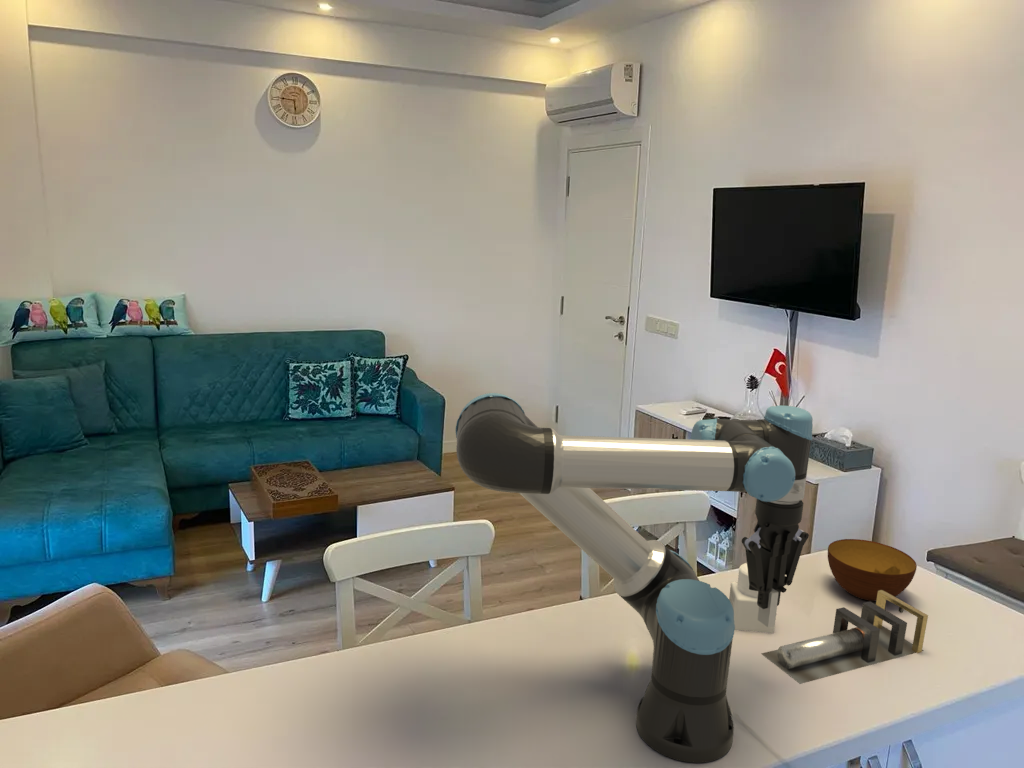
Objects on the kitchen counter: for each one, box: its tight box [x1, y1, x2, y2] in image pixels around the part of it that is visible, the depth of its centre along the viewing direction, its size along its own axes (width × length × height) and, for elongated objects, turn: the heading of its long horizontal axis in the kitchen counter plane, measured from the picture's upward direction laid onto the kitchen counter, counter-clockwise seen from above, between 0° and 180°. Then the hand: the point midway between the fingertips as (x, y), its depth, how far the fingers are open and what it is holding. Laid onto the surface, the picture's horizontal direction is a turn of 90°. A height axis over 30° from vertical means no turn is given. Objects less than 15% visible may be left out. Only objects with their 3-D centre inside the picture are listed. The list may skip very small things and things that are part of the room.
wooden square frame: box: [873, 590, 929, 654], centre depth 146 cm, size 1×10×8 cm, turn 23°
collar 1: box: [832, 607, 880, 663], centre depth 142 cm, size 2×8×6 cm, turn 23°
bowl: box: [827, 538, 918, 602], centre depth 164 cm, size 18×18×10 cm
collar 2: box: [860, 601, 908, 656], centre depth 145 cm, size 2×8×6 cm, turn 23°
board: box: [760, 625, 924, 685], centre depth 142 cm, size 31×10×1 cm, turn 113°
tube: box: [777, 626, 865, 669], centre depth 140 cm, size 20×4×4 cm, turn 113°
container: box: [728, 562, 778, 634], centre depth 150 cm, size 8×8×13 cm
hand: (766, 622), depth 132 cm, fingers closed
